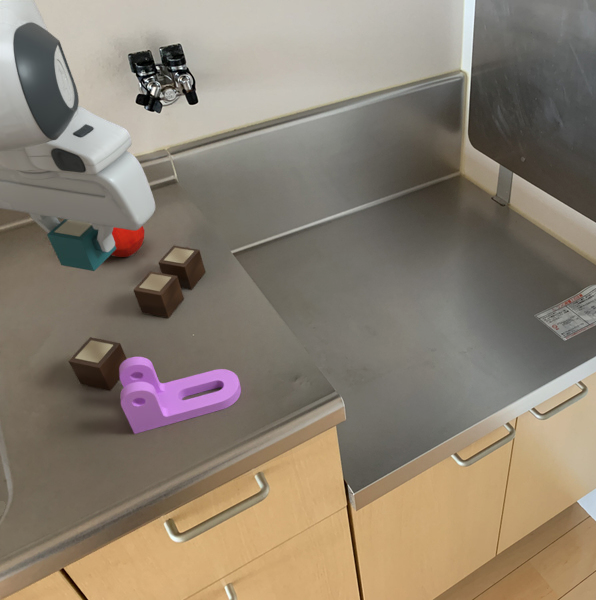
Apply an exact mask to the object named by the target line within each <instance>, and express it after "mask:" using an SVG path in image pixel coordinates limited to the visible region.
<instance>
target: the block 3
mask: <svg viewBox="0 0 596 600" xmlns="http://www.w3.org/2000/svg"><path fill="white" fill-rule="evenodd" d="M133 294H134V296H135V299H136V301H137V304H138V307H139V309H140V312H141V314H146V315H150V316H155V317H156V316H157V317H161V318H166V319H169V318H171V316H172V315H173V314H174V312H175V311H176V310H177V308H178V307H179V306H180V305H181V304H182V302H183V301H184V299H185V297H184V294H183V290H182V288H181V287H180V284H179V280H178V277H177V276H174V275H168V274H163V273H162V272H157V271H153V270H152V271H149V272H148V273H147V274H146V275H145V276H144V277H143V279H141V281H140V282H139V283H138V284H137V285H136V286H135V287H134V289H133Z"/></svg>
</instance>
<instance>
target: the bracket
mask: <svg viewBox="0 0 596 600" xmlns="http://www.w3.org/2000/svg"><path fill="white" fill-rule="evenodd" d="M119 375H120V380H119V381H120V383H121V385H122V387H123V388H122V389H121V391H120V406H121V408H122V411H123V413H124V415H125V417H126V419H127V421H128V423H129V426H130V428H131V429H132V432H133V434H134V435H136V434H140V433H143V432H147V431H151V430H154V429H157V428H162V427H165V426H168V425H169V426H170V425H171V424H175V423H179V422H182V421H186V420H190V419H193V418H197V417H202V416H204V415H208V414H211V413H216V412H218V411H222V410H225V409H227V408H229V407H231V406H232V405H234V404H235V403H236V402H237V401H238V399H239V398H240V397H241V392H242V387H241V383H240V379H239V377H238V375H237V374H236V373H235V372H233V371H231V370H229V369H225V368H219V369H213V370H209V371H205V372H202V373H197V374H194V375H190V376H186V377H182V378H178V379H174V380H171V381H168V382H160V380H159V377H158V374H157V371H156V370H155V367H154V365H153V362H152V361H151V360H150V359H149V358H146V357H145V356H131V357H128V358H127V359H126V360H125V361H123V362H122V363H121V365H120V367H119ZM220 388H221V389H220ZM215 389H220V390H216V391H213V392H210V393H205V394H202V395H199V396H195V397H192V398H187V399H185V398H186V397H190V396H193V395H197V394H200V393H204V392H208V391H211V390H215Z"/></svg>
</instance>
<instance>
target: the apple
mask: <svg viewBox="0 0 596 600" xmlns="http://www.w3.org/2000/svg"><path fill="white" fill-rule="evenodd" d="M112 236H113V238H114V241H115V246H116V250H115V251H114V252H113V253H112V254H111V255H110V256H113V257H117V258H128V257H131V256H133V255H134V254H136V253H137V252H138V251H139V250H140V249H141V247H142V245H143V243H144V239H145V228H144V225H143V226H142V227H141V228H140V229H138V230H135V231H134V230H127V229H122V228H116V227H114V228H113V231H112Z"/></svg>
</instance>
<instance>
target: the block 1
mask: <svg viewBox="0 0 596 600" xmlns="http://www.w3.org/2000/svg"><path fill="white" fill-rule="evenodd" d="M126 359H128V358H127V356H126V354H125V351H124V349H123V347H122V344H121V343H120V342H117V341H112V340H107V339H103V338H102V339H101V338H98V337H97V338H96V337H92V336H89V338H88V339H87V340H86V341H85V342H84V343H83V344H82V345H81V347H79V349H78V350H77V351H76V352H75V353H74V354H73V355H72V356H71V357H70V358H69V360H68V363H69V365H70V368H71V370H72V371H73V373H74V375H75V377H76V379H77V381H78V382H79V384H80V385H82V386H85V387H90V388H94V389H99V390H103V391H108V392H111V391H112V390H113V388H114V387H116V386H117V385H116V384H118V382H119V381H120V375H119V367H120V365H121V363H122V362H123V361H125V360H126Z"/></svg>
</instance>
